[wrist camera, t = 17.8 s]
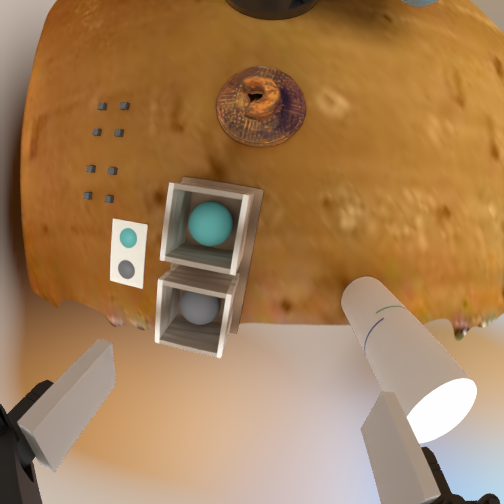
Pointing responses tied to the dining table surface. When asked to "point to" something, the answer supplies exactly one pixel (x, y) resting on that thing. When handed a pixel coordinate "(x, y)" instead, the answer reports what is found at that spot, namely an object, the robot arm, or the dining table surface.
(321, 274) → the dining table surface
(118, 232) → the dot card
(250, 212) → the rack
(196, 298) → the ball charcoal
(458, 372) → the cylindrical container
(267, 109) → the brown patterned pot lid
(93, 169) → the small grey cubes
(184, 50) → the dining table surface
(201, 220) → the ball teal
